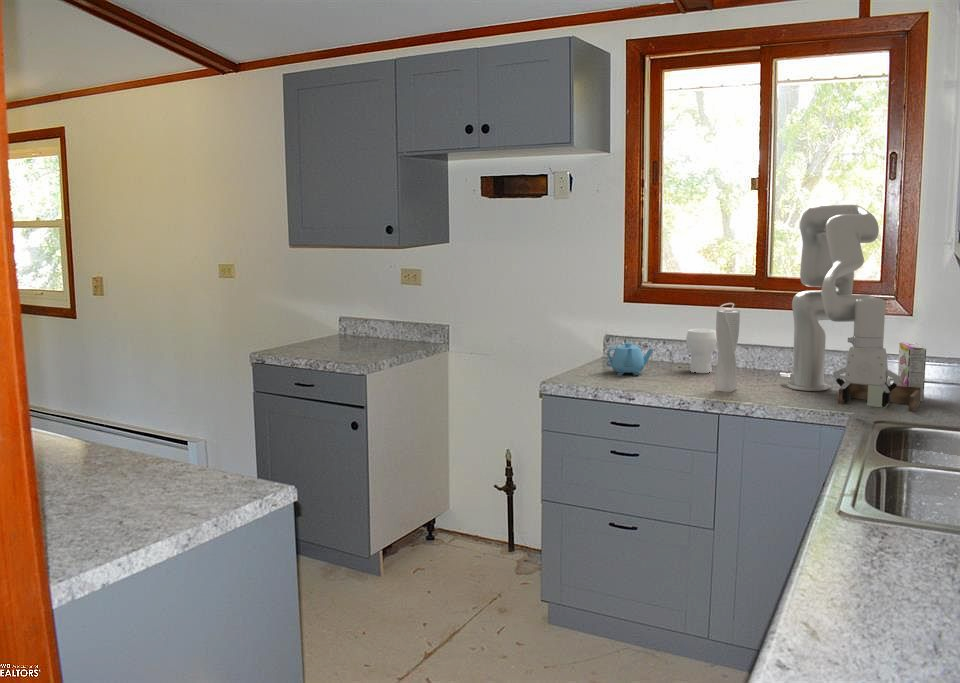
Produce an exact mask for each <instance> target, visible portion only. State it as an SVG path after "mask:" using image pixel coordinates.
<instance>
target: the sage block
mask: <svg viewBox="0 0 960 683" xmlns="http://www.w3.org/2000/svg"><path fill="white" fill-rule="evenodd" d="M891 379H892V378H891V377H888V378H887V382H886V383H887V384H888V385H889V386H890V384H891ZM883 392H884V390H883V389H882V388H881V386H872V385H868V400H867V399H866V400H867V403H866V406H868V407H876V406H877V407H878V408H883V407H882V394H883ZM889 405H890V403H889V404H887V406H886V408H887V407H888V406H889ZM877 407H876V408H877Z"/></svg>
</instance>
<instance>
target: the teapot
mask: <svg viewBox="0 0 960 683" xmlns="http://www.w3.org/2000/svg"><path fill="white" fill-rule="evenodd" d="M632 344H633V343H632V342H627V341H626V342H624V344H623V345H621V344H620V345H617V346H616V347H611V348H609V349H607V352H606V354H607V358H608V360H607V361H606V366H607V367H612V369H613V371H615V372H616V373H617V372H618V373H617V374H618V375H617V376H619V375H622V376H624V375H625V373H632V375H633V374H634V375H638V374H639V373H640V372H642V371H643V370H644V369H645V366H646V365H647V363H648V361H649V359H650V357H651V355H652V353H653V351H654V348H649V349H648V350H647V351H646V352H645V354H644V355H643V351H642V350H641V348H640V347H639V346H637V345H632ZM611 351H614V352H613V355H612V357H611V353H610V352H611ZM623 374H624V375H623ZM634 375H633V376H634Z"/></svg>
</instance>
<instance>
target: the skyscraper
mask: <svg viewBox="0 0 960 683" xmlns="http://www.w3.org/2000/svg"><path fill="white" fill-rule="evenodd" d="M729 305H732V306H731V308H730V307H729V308H723V309H722V310H720V309H721V308H722V307H724V306H729ZM734 307H735V303H733V302H728V303H727V302H726V303H723V304H721V305H719V306H718V308H717V309H716V319H715V320H716V321H715V332H716V339H717V344H716V346H717V351H718V353H717V362H716V371H715V387H714V391H715V392H716V391H717V392H726V393H732V392H734V391H735V390H737V388H738V386H737V385H738V384H737V381H738V380H737V360H736V358H737V357H736V350H737V346H738V341H739V336H740V334H739V333H740V322H741V321H740V317H741V313H740V312H741V311H740V309H734Z"/></svg>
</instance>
